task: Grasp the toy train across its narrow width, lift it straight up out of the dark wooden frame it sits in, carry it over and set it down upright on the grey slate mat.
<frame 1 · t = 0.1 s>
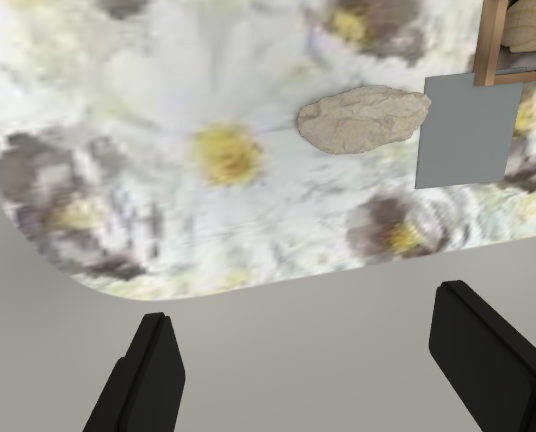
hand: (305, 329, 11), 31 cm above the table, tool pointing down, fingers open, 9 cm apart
slate mat: (465, 131, 40), on the table
stone: (350, 119, 39), on the table
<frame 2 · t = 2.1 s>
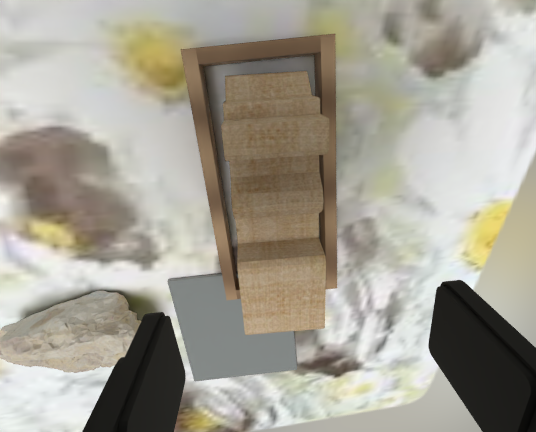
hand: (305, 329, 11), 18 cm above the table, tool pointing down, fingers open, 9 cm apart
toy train: (270, 179, 27), resting in pocket frame
slate mat: (238, 326, 33), on the table
stone: (92, 318, 32), on the table
pocket frame: (270, 180, 27), on the table
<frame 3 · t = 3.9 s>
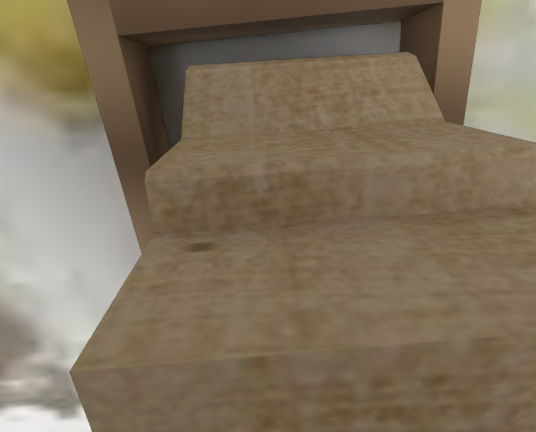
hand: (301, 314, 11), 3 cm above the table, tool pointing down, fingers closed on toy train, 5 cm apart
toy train: (292, 272, 14), resting in pocket frame, touching gripper
pocket frame: (293, 274, 14), on the table
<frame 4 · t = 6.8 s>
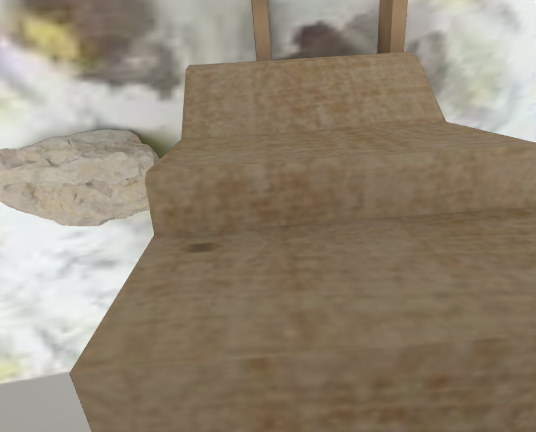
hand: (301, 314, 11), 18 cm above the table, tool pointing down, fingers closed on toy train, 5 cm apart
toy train: (292, 272, 14), point 15 cm above the table, touching gripper
stone: (98, 173, 27), on the table
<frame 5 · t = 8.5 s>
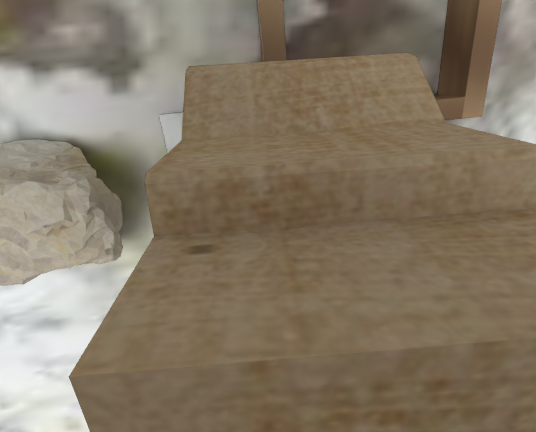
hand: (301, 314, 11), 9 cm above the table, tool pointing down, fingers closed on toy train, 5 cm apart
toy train: (292, 272, 14), point 6 cm above the table, touching gripper
slate mat: (280, 219, 19), on the table
stone: (29, 202, 19), on the table
when the fingers open (4 cm above the table, at t = 9.9 s): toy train stays where it is, resting on pocket frame, slate mat.
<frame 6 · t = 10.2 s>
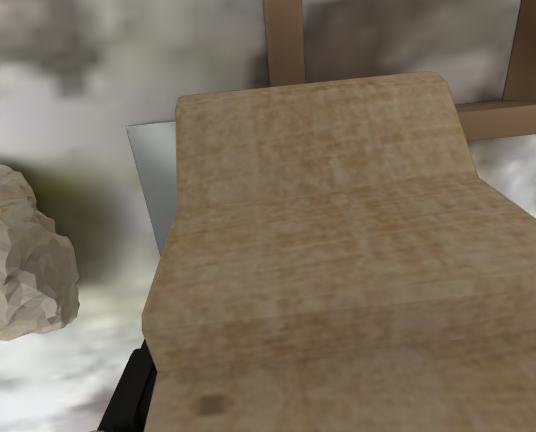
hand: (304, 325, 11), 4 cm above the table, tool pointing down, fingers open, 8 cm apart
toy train: (297, 272, 14), point 1 cm above the table, touching pocket frame, slate mat
slate mat: (289, 259, 15), on the table
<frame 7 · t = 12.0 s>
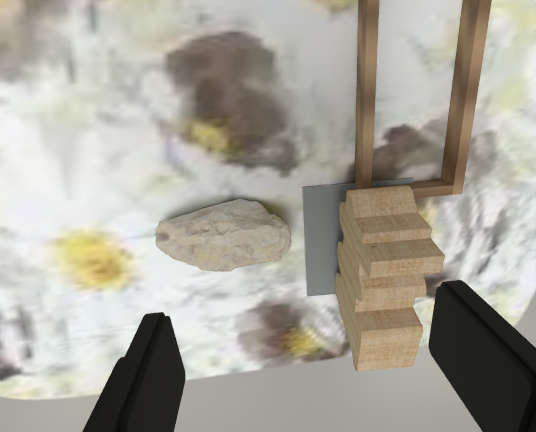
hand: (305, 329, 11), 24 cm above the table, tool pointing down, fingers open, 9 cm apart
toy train: (360, 244, 35), point 1 cm above the table, touching pocket frame, slate mat
slate mat: (355, 240, 36), on the table
stone: (225, 229, 35), on the table
pocket frame: (409, 89, 30), on the table
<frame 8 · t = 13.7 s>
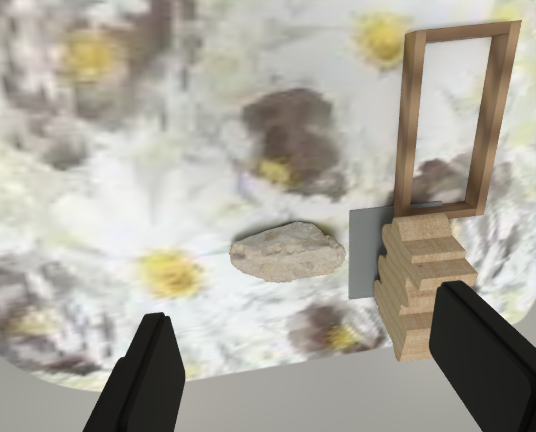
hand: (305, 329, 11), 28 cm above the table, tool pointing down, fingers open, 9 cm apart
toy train: (397, 256, 42), point 1 cm above the table, touching pocket frame, slate mat
slate mat: (391, 252, 43), on the table
stone: (282, 245, 42), on the table
pocket frame: (441, 131, 37), on the table
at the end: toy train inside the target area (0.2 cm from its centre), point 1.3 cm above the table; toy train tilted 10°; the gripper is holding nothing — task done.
